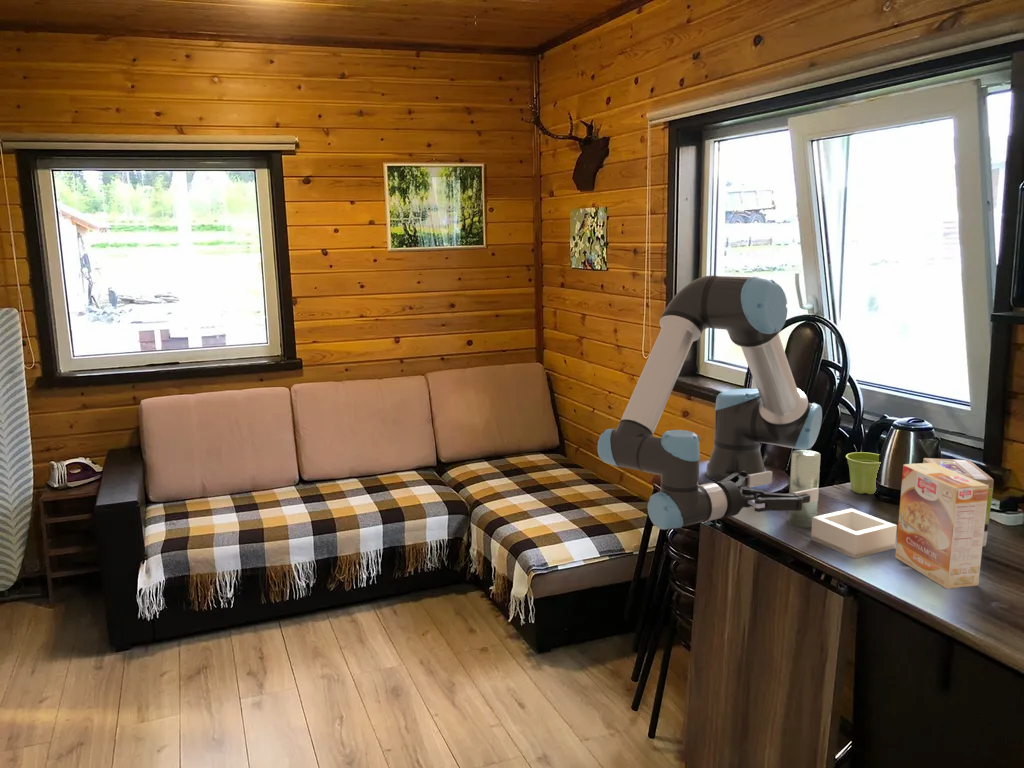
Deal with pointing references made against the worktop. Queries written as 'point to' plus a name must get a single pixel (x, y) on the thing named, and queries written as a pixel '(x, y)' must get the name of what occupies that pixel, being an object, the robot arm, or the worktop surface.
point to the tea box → (974, 473)
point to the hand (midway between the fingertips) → (793, 485)
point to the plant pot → (863, 471)
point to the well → (853, 533)
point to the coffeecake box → (941, 524)
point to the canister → (804, 484)
